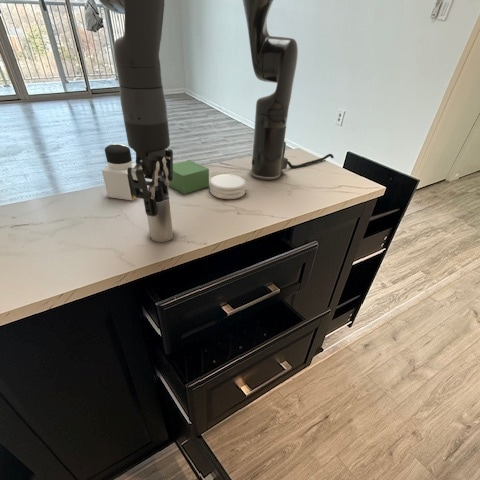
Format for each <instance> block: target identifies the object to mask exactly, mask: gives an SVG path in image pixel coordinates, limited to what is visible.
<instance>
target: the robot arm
mask: <svg viewBox="0 0 480 480" xmlns="http://www.w3.org/2000/svg"><path fill="white" fill-rule="evenodd" d="M98 1H99V2H100V4H101V5H102V6H103V7H104V8H105V9H107V10H109V11H110V12H113V13H115V14H119V15H124V31H123V35H122V36H121V37H118V38H117V39H116V40H115V41H114V43H113V57H114V63H115V70H116V74H117V80H118V81H117V82H118V87H119V97H120V98H119V99H120V106H121V112H122V117H123V122H124V128H125V129H124V130H125V134H126V139H127V140H126V141H127V146H128V147H129V148H130V149H132V151H134V152H135V164H136V165H135V167H134V168H130V167H129V168H128V169H127V173H128V176H129V179H130V182H131V184H132V187H133V190H134V193H135V196H136V198H137V199H142V200H143V204H144V210H145V211H144V212H145V214H146V216H147V215H148V216H153V217H155V216H156V215H157V208H156V201H155V187H156V186H157V185H159V186H162V189H163V193H165V194H167V195H168V196H169V187H170V186H169V181H172V180H173V164H174V151H173V149H169V147H170V144H171V141H170V129H169V119H168V118H169V117H168V109H167V101H166V96H165V95H166V94H165V90H164V86H163V85H164V84H163V83H164V82H163V72H162V64H161V48H162V47H161V46H162V38H163V28H164V18H165V17H164V16H165V8H166V7H165V4H166V0H98ZM273 3H274V0H242V4H243V10H244V15H245V19H246V26H247V33H248V40H249V41H248V42H249V49H250V57H251V65H252V69H253V73H254V75H255V77H256V78H257V79H258V80H259V81H262V82H266V83H271V84H272V83H273V84H276V87H275V91H274V92H272V93H271V94H268V95H265V96H262V97H259V98H258V99H257V100H256V103H255V115H254V116H255V117H254V129H253V132H254V133H253V142H252V143H253V145H252V157H251V170H250V175H251V176H252V177H253V178H256V179H258V180H264V181H273V180H278V179H279V178H280V177H281V176H282V174H283V170H286V169H287V168H288V167H289V168H290V169H298V168H302V167H305V166H308V165H312V164H316V163H319V162H322V161H325V160H327V158H331V159H334V158H335V157H334V155H333V154H332V153H328V154H326V155H325V156H322V157H320V158H317V159H314V160H309V161H305V162H303V163H301V164H297V165H294V164H292V163H291V161H289V158H287V157H285V153H286V147H287V146H286V145H287V142H286V141H285V139H286V132H287V125H288V116H289V111H290V110H289V108H290V105H291V99H292V94H293V88H294V81H295V76H296V70H297V63H298V57H299V56H298V55H299V49H298V42H297V41H296V39H295V38H292V37H285V36H274V35H273V36H272V35H270V34H269V30H268V16H269V13H270V10H271V8H272V5H273ZM167 168H168V170H167ZM146 179H148V180H146ZM149 186H150V192H149V190H148V187H149ZM139 189H141V191H140V190H139ZM169 197H170V196H169ZM136 198H135V199H136Z"/></svg>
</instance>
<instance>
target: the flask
mask: <svg viewBox="0 0 480 480" xmlns="http://www.w3.org/2000/svg"><path fill="white" fill-rule="evenodd" d="M147 187H148V191H149V192H150V186H147ZM155 201H156V208H157V215H156V216H155V217H153V216H148V215H147V214H146V217H147V224H148V229H149V235H150V239H151V240H152V241H154V242H157V243H165V242H166V243H167V242H168V241H170V240H172V239H173V238H174V231H173V229H174V228H173V222H172V221H173V220H172V212H171V205H170V204H171V202H170V196H168V195H167V194H165V193H163V189H162V186H159V185H157V186H156V187H155Z"/></svg>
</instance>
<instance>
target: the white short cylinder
mask: <svg viewBox="0 0 480 480" xmlns="http://www.w3.org/2000/svg"><path fill="white" fill-rule="evenodd" d="M246 184H247V183H246V180H245V179H244V178H243V177H241V176H239V175H237V174H236V175H235V174H232V173H231V174H230V173H224V174H222V173H221V174H217V175H215V176H212V177H211V178H210V179H209V191H210V194H211V195H212V196H214V198H217V199H222V200H236V199H240V198H242V197H243V196H245V193H246Z"/></svg>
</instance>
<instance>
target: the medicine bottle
mask: <svg viewBox="0 0 480 480" xmlns="http://www.w3.org/2000/svg"><path fill="white" fill-rule="evenodd" d="M131 153H132V152H131V148H130V147H129V145H126V144H122V143H112V144H109V145H107V146H105V148H104V154H105V158H106V162H107V166H105V167H104V168H102V169H101V173H102V177H103V181H104V186H105V190H106V194H107V197H108V198H112V199H119V200H125V201H134V200H135V199H136V196H135V193H134V190H133V187H132V184H131V182H130V179H129V176H128V173H127V169H128V168H129V167H130V168H134V167H135V165H136V163H133V158H132V154H131ZM139 190H140V191H141V189H139Z"/></svg>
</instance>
